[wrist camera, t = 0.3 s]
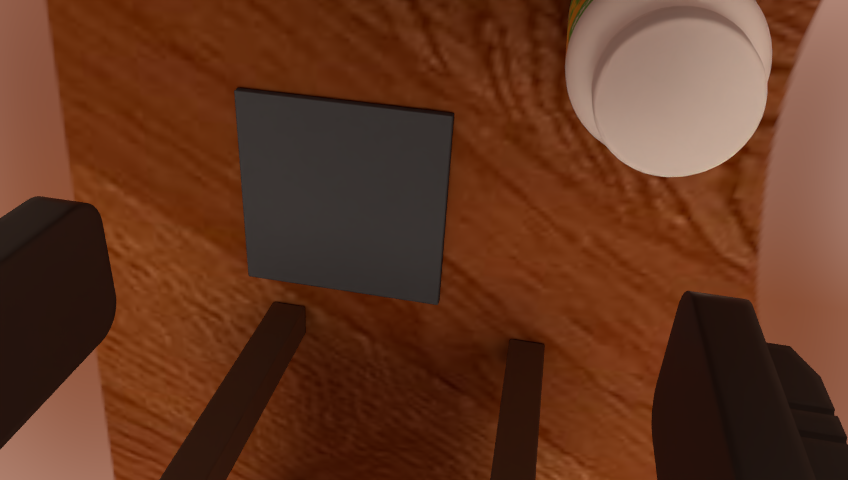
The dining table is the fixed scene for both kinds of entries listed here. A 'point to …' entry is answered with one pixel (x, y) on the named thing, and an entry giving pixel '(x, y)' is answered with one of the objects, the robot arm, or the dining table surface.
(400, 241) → the coaster
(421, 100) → the dining table surface
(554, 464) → the dining table surface
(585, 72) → the supplement bottle
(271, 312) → the cabinet
